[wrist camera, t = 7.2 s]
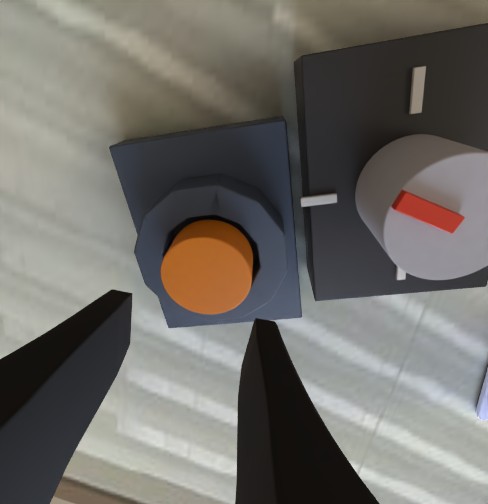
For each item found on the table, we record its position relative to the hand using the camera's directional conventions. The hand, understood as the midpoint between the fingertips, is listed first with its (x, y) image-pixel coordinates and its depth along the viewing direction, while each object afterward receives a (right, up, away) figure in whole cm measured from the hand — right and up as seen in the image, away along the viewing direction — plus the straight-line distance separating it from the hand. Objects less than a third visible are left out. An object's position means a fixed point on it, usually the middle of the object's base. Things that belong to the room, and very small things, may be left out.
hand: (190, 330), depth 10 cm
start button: (0, +2, +4) cm, 5 cm away
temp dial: (+8, +5, +2) cm, 10 cm away
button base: (0, +4, +7) cm, 8 cm away
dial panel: (+8, +6, +5) cm, 11 cm away
